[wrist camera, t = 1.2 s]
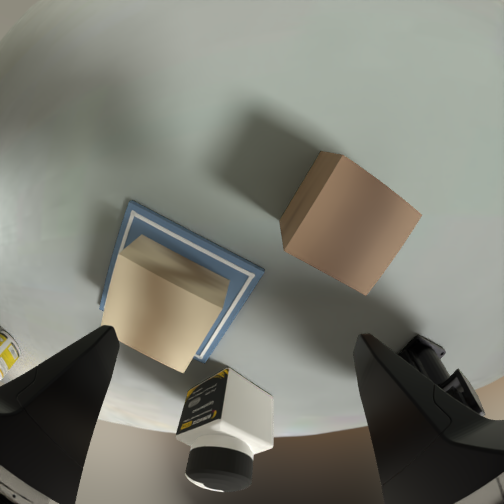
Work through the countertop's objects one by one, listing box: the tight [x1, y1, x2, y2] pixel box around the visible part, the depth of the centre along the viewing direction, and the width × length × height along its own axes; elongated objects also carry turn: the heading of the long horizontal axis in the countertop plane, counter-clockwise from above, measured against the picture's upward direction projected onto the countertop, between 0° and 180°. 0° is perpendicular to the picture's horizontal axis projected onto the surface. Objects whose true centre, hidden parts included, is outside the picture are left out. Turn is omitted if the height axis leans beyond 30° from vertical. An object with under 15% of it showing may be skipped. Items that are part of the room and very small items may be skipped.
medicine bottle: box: [176, 368, 273, 492], centre depth 23 cm, size 7×7×12 cm
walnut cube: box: [279, 151, 422, 295], centre depth 17 cm, size 6×6×6 cm
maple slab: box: [101, 235, 230, 373], centre depth 21 cm, size 8×8×4 cm
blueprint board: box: [99, 200, 264, 364], centre depth 23 cm, size 12×12×1 cm
